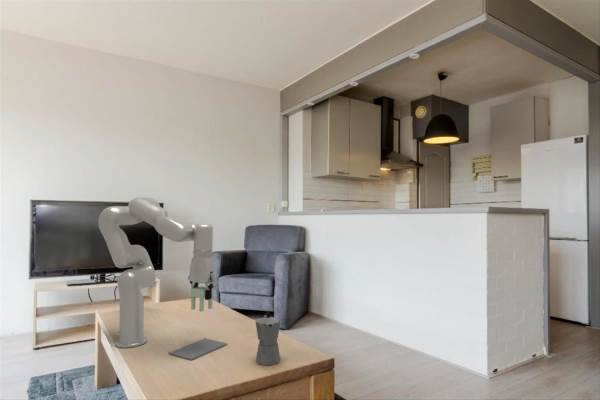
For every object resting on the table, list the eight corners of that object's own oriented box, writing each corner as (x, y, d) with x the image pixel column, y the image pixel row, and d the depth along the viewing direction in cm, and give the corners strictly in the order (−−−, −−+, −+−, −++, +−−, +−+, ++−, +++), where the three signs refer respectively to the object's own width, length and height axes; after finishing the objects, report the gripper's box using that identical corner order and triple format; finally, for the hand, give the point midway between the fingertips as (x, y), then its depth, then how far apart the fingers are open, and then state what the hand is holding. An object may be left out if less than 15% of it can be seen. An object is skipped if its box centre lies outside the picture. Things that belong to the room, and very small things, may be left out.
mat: (168, 354, 148) (168, 352, 148) (205, 339, 165) (205, 338, 165) (191, 360, 142) (191, 359, 142) (227, 344, 159) (227, 343, 159)
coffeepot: (283, 366, 135) (283, 316, 136) (257, 369, 133) (257, 318, 134) (276, 351, 150) (276, 306, 151) (253, 353, 148) (253, 307, 149)
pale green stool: (190, 309, 152) (190, 288, 152) (201, 306, 158) (202, 286, 158) (201, 311, 149) (202, 290, 149) (213, 308, 154) (213, 287, 154)
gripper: (181, 253, 155) (180, 297, 155) (211, 256, 146) (210, 303, 146) (194, 252, 162) (193, 294, 161) (225, 254, 153) (224, 299, 152)
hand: (201, 297), depth 153 cm, fingers closed on pale green stool, 6 cm apart
